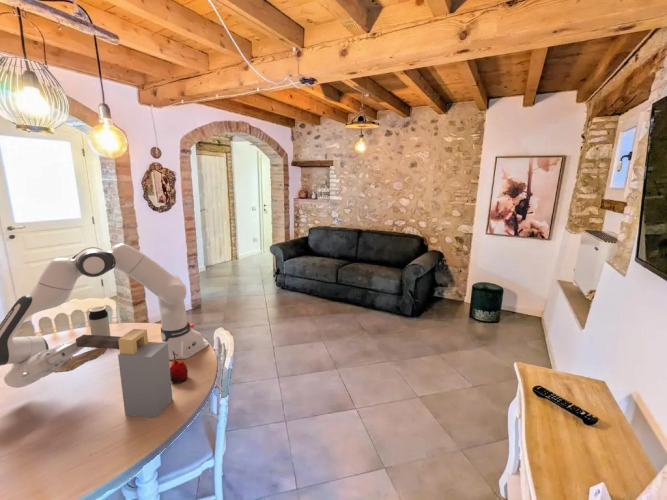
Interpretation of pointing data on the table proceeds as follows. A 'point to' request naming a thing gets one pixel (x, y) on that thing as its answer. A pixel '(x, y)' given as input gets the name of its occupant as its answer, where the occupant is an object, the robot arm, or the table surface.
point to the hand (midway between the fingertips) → (74, 347)
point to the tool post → (144, 374)
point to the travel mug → (99, 321)
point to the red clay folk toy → (178, 370)
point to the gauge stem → (98, 341)
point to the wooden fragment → (81, 359)
